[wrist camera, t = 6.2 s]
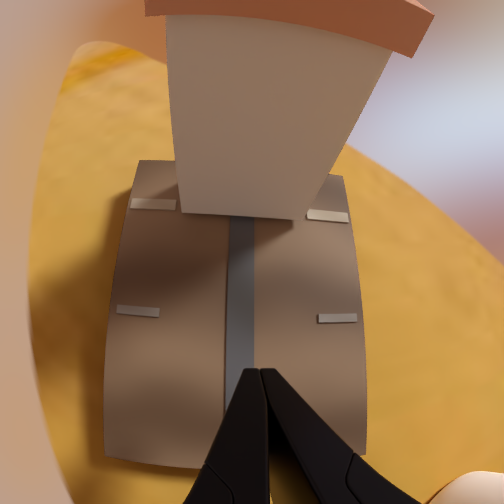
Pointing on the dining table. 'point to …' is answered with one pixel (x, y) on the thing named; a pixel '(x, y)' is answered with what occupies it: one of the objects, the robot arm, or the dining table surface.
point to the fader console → (227, 319)
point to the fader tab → (272, 93)
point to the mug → (473, 489)
